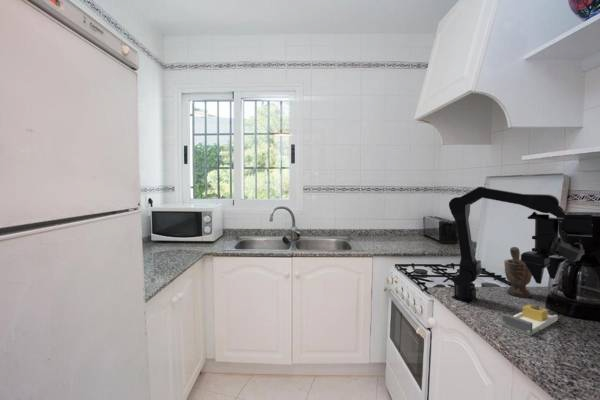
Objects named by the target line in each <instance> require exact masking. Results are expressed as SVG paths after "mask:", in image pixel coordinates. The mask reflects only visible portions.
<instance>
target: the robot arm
mask: <svg viewBox="0 0 600 400" xmlns="http://www.w3.org/2000/svg"><path fill="white" fill-rule="evenodd" d="M482 199H487V200H493V201H499V202H503V203H509V204H512V205H513V204H514V205H520V206H523V207H525V208H528V209H531V210H533V211H532V213H531V214H530V215H528V216H527V219H528V220H534V235H532V236H531V240H534V247H532V248H531V250H529V251H525V252H523V253H521V254H520V260H521V261H523V263H525V264H526V266H527V268H528V269H529V271H530V272H531V274H532V277H533V280H534V281H535V283H536V284H539V285H541V284H542V280H543V275H544V272H545V268H546V269H547V273H548V276H549V278H550V279H552V280H555V279H556V277H557V274H558V272H559V269H560V268H561V265H562V263H564V262H567V261H570V262H573V263H576V262H579V261H580V260H581V258H582V256H584V255H585V254H586V253H585V252H586V250H585V249H584V247H583V244H581V243H579V242H574V243H572V244H570V243H566V242H563V240H564V239H563V238H562V237H561V236H559V230H560V228H559V226H560V225H559V224H560V222H561V232H563V233H565V234H566V235H567V236H573V237H574V236H576V237H577V236H578V237H588V238H589V237H590V238H591V237H593V234H594V225H593V216H592V215H593V214H592V213H581V214H580V213H568V212H567V211H566V210H564V209H563V207H561V206H560V200H559V199H558V198H557V197H556V196H555V195H553V194H541V193H540V194H539V193H538V194H537V193H536V194H535V193H533V194H532V193H521V192H520V193H519V192H513V191H507V190H501V189H495V188H491V187H490V188H489V187H485V186H478V187H476V188H475V189H472V190H471V191H469V192H467V193H465V194H463V195H461V196H457V197H453V198H451V199H450V201H449V202H448V208H449V210H450V214H451V215H452V217H453V219H454V221H455V225H456V231H457V232H456V233H457V238H458V244H459V245H458V246H459V254H460V261H459V269H458V272H459V273H458V274H457V275H455V276H454V277H453V278H452V281H453V285H454V286H453V290H454V292H453V293H454V294H453V295H451V298H453V299H456V300H458V301H462V302H463V303H464V302H465V303H467V304H468V303H469V304H470V303H472V302H475V301H477V300H478V297H477V289H476V286H475V285H476V284H475V283H473V282H475V281H476V280H477V279H478V278H479V277H480V275H481V274H482V272H483V268H482V266H481V265H482V261H481V260H477V259H476V256H475V255H474V249H473V242H472V241H473V240H472V234H471V227H470V222H469V219H470V214H471V205H473V204H475V203H476V202H478V201H479V200H482ZM538 212H540V213H538ZM550 214H551V216H553V217H550ZM554 216H555V217H554Z"/></svg>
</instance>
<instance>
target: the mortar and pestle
mask: <svg viewBox="0 0 600 400" xmlns="http://www.w3.org/2000/svg"><path fill="white" fill-rule="evenodd" d="M509 251H510V252H509V253H510V256H511V258H512V259H511V258H510V259H505V260H504V261H503V262H504V273H505V276H506V277H505V278H506V279H507V281H508V282H510V284H511V285H510V286H509V287H508V289H507V290H506V293H508V294H509V295H512V296H515V297H518V298H529V297H531V296H532V294H531V292H530V290H529V289H528V288H527V286H528V285H529V284H530V283H531V281H532V277H533V276H532V274H531V272H530V271H529V269H528V268H527V266H526V264H525V263H523V261H521V254H520V253H521V252H520V249H519V247H516V246H512V247H510V250H509Z"/></svg>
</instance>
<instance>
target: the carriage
mask: <svg viewBox="0 0 600 400" xmlns="http://www.w3.org/2000/svg"><path fill="white" fill-rule="evenodd" d="M522 311H523V316H524V317H527V318H530V319H533V320H536V321H539V322H542V321H544V320H546V319H547V318H548V314H549V311H548V309H547V308H543V307H540V305H538V304H526V305H524V306H522Z"/></svg>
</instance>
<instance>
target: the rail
mask: <svg viewBox="0 0 600 400" xmlns="http://www.w3.org/2000/svg"><path fill="white" fill-rule="evenodd" d="M558 318H559V317H558V314H553V315H551V314H549V313H548V318H547V319H546V320H544V321H542V322H539V321H536V320H533V319H530V318H527V317H524V316H523V310H522V311H520V312H518V313H516V314H515V315H510V314H507V313H504V314H502V326H503V327H504V326H506V327H505V328H507V327H508V328H507V329H510V328H511V329H510V330H512V329H513V331H515V330H516V331H515V332H518V331H519V332H518V333H520V332H522V333H521V334H523V333H524V335H526V334H527V336H528V335H530V336H529V337H531V336H533V335H534V333H535V334H537V333H538V332H540V331H541V329H542V330H543V329H545V328H546V327H549V326H550V325H552V324H553V323H555V322H557V321H558ZM539 330H540V331H539ZM532 334H533V335H532Z"/></svg>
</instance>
